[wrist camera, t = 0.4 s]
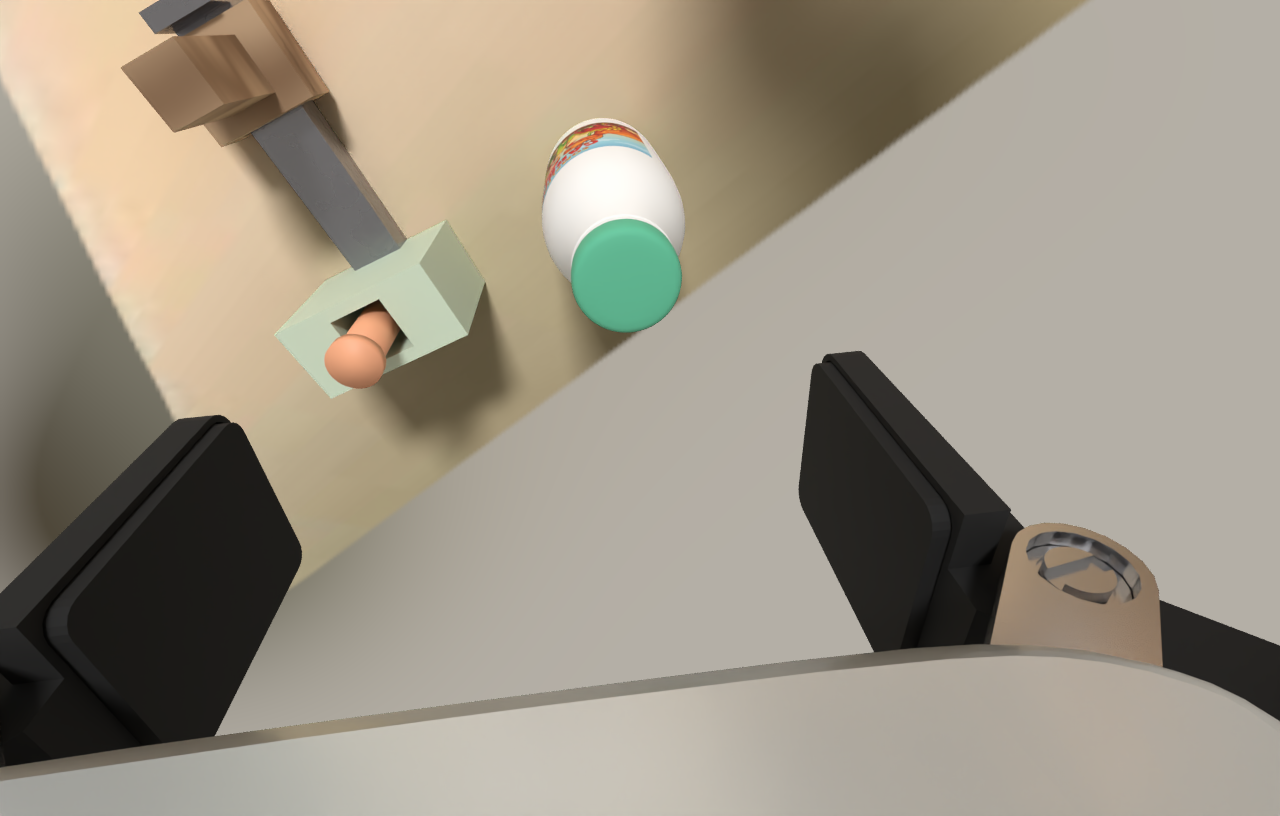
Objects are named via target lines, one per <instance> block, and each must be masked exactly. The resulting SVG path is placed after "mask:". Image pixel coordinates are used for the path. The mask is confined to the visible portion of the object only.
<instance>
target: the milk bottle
mask: <svg viewBox="0 0 1280 816" xmlns="http://www.w3.org/2000/svg"><path fill="white" fill-rule="evenodd" d="M542 228H543V234H544V239H545V242H546V245H547V248H548V251H549V254H550V256H551V258H552V260H553V262H554V263H555V265H556V266H557V268H558V269H559V270H560V272H561V273H562V274H563V275H564V276H565V277H566V278H567V279H568V280H569V281H570V282H571V284H572V290H573V294H574V297H575V300H576V302H577V304H578V306H579V307H580V309H581V310H582V311H583V313H584V314H585V315H586V316H587V317H588V318H589V319H590V320H591V321H593V322H594V323H596V324H597V325H599V326H601V327H603V328H605V329H608V330H611V331H615V332H636V331H640V330H644V329H647V328H649V327H651V326H653V325H655V324H656V323H658V322H659V321H661V320H662V319H663V318H664V317H665V316H666V315H667V314H668V313H669V312H670V310H671V309H672V308H673V306H674V304H675V302H676V300H677V298H678V295H679V292H680V288H681V282H682V272H681V266H680V262H679V259H678V256H679V254H680V251H681V248H682V244H683V240H684V233H685V215H684V209H683V203H682V200H681V196H680V194H679V191H678V189H677V187H676V185H675V182H674V180H673V179H672V177H671V175H670V173H669V172H668V170H667V168H666V167H665V165H664V164H663V162H662V161H661V159H660V158H659V156H658V155H657V153H656V152H655V150H654V149H653V147H652V146H651V144H650V143H649V142H648V141H647V139H646V138H645V137H644V136H643V135H642V134H641V133H640V132H638V131H637V130H636V129H635V128H633V127H632V126H630V125H628V124H626V123H624V122H622V121H619V120H615V119H610V118H596V119H590V120H586V121H584V122H581V123H579V124H577V125H575V126H574V127H572V128H571V129H569V130H568V131H567V132H566V133H565V134H564V135H563V136H562V137H561V138H560V139H559V141H558V142H557V144H556V145H555V147H554V149H553V151H552V153H551V156H550V158H549V162H548V165H547V171H546V177H545V185H544V193H543V203H542Z"/></svg>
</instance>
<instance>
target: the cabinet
mask: <svg viewBox="0 0 1280 816" xmlns="http://www.w3.org/2000/svg"><path fill="white" fill-rule="evenodd" d="M484 283H485V281H484V279H483V277H482V276H481V274H480V273H479V271H478V270H477V268H476V266H475V265H474V263H473V262H472V260H471V258H470V257H469V255H468V254H467V252H466V250H465V249H464V247H463V246H462V244H461V242H460V241H459V239H458V238H457V236H456V234H455V233H454V231H453V230H452V228H451V226H450V225H449V223H448V222H447V220H445V221H443V222H441V223H439V224H437V225H435V226H433V227H431V228H429V229H427V230H425V231H423V232H421V233H419V234H417V235H415V236H413V237H411V238H409V239H407V240H406V241H405V243H404V244H403V245H402V247H401V248H400V249H398V250H396V251H394V252H392V253H390V254H388V255H386V256H384V257H382V258H380V259H378V260H376V261H374V262H372V263H370V264H368V265H366V266H364V267H362V268H360V269H358V270H356V271H355V270H354V269H353V268H352V267H351V268H349V269H347V270H345V271H343V272H341V273H339V274H337V275H335V276H333V277H331V278H329V279H327V280H325V281H324V283H323V284H322V285H321V286H320V287H319V288H318V289H317V290H316V291H315V292H314V293H313V294H312V295H311V296H310V297H309V298H308V299H307V301H306V302H305V303H304V304H303V305H302V306H301V307H300V308H299V309H298V310H297V311H296V312H295V313H294V314H293V315H292V316H291V317H290V319H289V320H288V321H287V322H286V323H285V324H284V325H283V326H282V327H281V328H280V329H279V330H278V331H277V332H276V333H275V334H274V335H275V336H276V338H277V339H278V340H279V341H280V342H281V343H282V344H283V345H284V346H285V348H286V349H287V350H288V351H289V352H290V353H291V354H292V355H293V357H294V358H295V359H296V360H297V361H298V362H299V363H300V364H301V365H302V367H303V368H304V369H305V370H306V371H307V372H308V373H309V374H310V376H311V377H312V378H313V379H314V380H315V381H316V382H317V383H318V384H319V386H320V387H321V388H322V389H323V390H324V391H325V392H326V393H327V395H328V396H329V397H330V398H331V399H332V398H334V397H336V396H338V395H340V394H342V393H344V392H347V391H349V390H351V389H353V388H351V387H347V386H345V385H342V384H340V383H339V382H337V381H336V380H335V379H333V378H332V377H331V375H330V374H329V373H328V371H327V369H326V367H325V362H324V357H325V353H326V351H327V350H328V348H329V347H330V345H331V344H332V343H333V342H334V340H336V339H337V338H338V337H340V336H343V335H346V334H347V332H348V331H349V329H350V328H351V327H352V325H353V324H354V322H355V321H356V320H357V318H358V317H359V315H360V314H361V313H362V311H363V310H364V308H365V307H366V306H367V305H368V304H370V303H372V302H374V301H376V300H378V299H379V300H380V301H381V303H382V304H383V305H384V307H385V308H386V309H387V311H388V312H389V313H390V315H391V316H392V317H393V319H394V320H395V321H396V323H397V324H398V325H399V327H400V328H401V329H400V331H399V333H398V335H397V336H396V338H395V340H394V342H393V344H392V346H391V347H390V349H389V351H388V353H387V355H386V368H385V370H384V372H383V374H385V373H387V372H389V371H392V370H394V369H396V368H398V367H400V366H402V365H404V364H407V363H409V362H411V361H413V360H415V359H417V358H419V357H422V356H424V355H426V354H428V353H430V352H432V351H434V350H437V349H439V348H441V347H443V346H445V345H447V344H449V343H451V342H454V341H456V340H458V339H460V338H462V337H464V336H466V335H468V333H469V330H470V327H471V324H472V321H473V318H474V315H475V312H476V308H477V305H478V302H479V299H480V296H481V293H482V290H483V287H484ZM383 374H382V375H383Z"/></svg>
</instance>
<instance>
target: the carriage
mask: <svg viewBox="0 0 1280 816" xmlns="http://www.w3.org/2000/svg"><path fill="white" fill-rule="evenodd" d="M121 69H122V70H123V71H124V73H125V74H126V75H127V76H128V77H129V79H130V80H131V81H132V82H133V84H134V85H135V86H136V87H137V88H138V90H139V91H140V92H141V93H142V95H143V96H144V97H145V98H146V99H147V101H148V102H149V103H150V104H151V105H152V107H153V108H154V109H155V110H156V112H157V113H158V114H159V115H160V116H161V118H162V119H163V120H164V121H165V122H166V124H167V125H168V126H169V127H170V129H171V130H172V131H173V132H178V131H181V130H185V129H189V128H192V127H196V126H199V125H204V126H205V127H206V128H207V130H208V131H209V132H210V133H211V135H212V136H213V137H214V138H215V140H216V141H217V142H218V143H219V145H220V146H221V147H223V146H226V145H229V144H232V143H234V142H237V141H240V140H243V139H245V138H247V137H248V136H250V135H252V134H251V132H253V131H254V130H256V129H258V128H260V127H262V126H263V125H265V124H267V123H269V122H271V121H272V120H274V119H276V118H278V117H280V116H281V115H283V114H285V113H287V112H289V111H290V110H292V109H294V108H296V107H298V106H299V105H301V104H303V103H305V102H307V101H310V100H314V99H317V98H319V97H321V96H322V95H324V94H326V93H328V92H329V90H328V89H327V87H326V86H325V84H324V83H323V81H322V80H321V78H320V77H319V75H318V74H317V72H316V70H315V69H314V67H313V66H312V64H311V63H310V61H309V60H308V58H307V57H306V55H305V54H304V52H303V51H302V49H301V48H300V46H299V45H298V43H297V42H296V40H295V39H294V37H293V36H292V34H291V33H290V31H289V30H288V28H287V26H286V25H285V23H284V22H283V20H282V19H281V17H280V16H279V14H278V13H277V11H276V10H275V8H274V7H273V5H272V4H271V2H270V1H269V0H243V1H242V2H240V3H238V4H237V5H235V6H233V7H231V8H230V9H228V10H226V11H225V12H223V13H221V14H220V15H218V16H216V17H215V18H213V19H211V20H210V21H208V22H206V23H205V24H203V25H201V26H200V27H198V28H196V29H194V30H193V31H191V32H189V33H188V34H186V35H184V36H174V37H171V38H170V39H168V40H166V41H164V42H163V43H161V44H159V45H158V46H156V47H154V48H153V49H151V50H149V51H148V52H146V53H144V54H143V55H141V56H139V57H138V58H136V59H134V60H133V61H131V62H129V63H128V64H126V65H124V66H122V67H121Z"/></svg>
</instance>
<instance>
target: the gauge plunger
mask: <svg viewBox="0 0 1280 816" xmlns="http://www.w3.org/2000/svg"><path fill="white" fill-rule="evenodd" d="M400 329H401V328H400V327H399V325H398V324H397V323H396V321H395V320H394V319H393V317H392V316H391V315H390V313H389V312H388V311H387V309H386V308H385V307H384V305H383V304H382V303H381V301H380V300H379V299H378V300H376V301H374V302H372V303H370V304H368V305H367V306H366V307H365V308H364V310H363V311H362V313H361V314H360V315H359V317H358V318H357V320H356V321H355V322H354V324H353V325H352V327H351V328H350V329H349V331H348V332H347V334H346V335H343V336H340V337H338V338H337V339H336V340H334V342H333V343H332V344H331V345H330V347H329V348H328V350H327V351H326V353H325V357H324V362H325V367H326V369H327V371H328V373H329V374H330V375H331V377H332V378H333V379H335V380H336V381H337V382H339V383H340V384H342V385H345V386H347V387H351V388H367V387H370V386H372V385H374V384H375V383H377V382H378V381H379V379H380V378H381V376H382V374H383V372H384V370H385V368H386V355H387V353H388V351H389V349H390V347H391V346H392V344H393V342H394V340H395V338H396V336H397V335H398V333H399V331H400Z"/></svg>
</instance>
